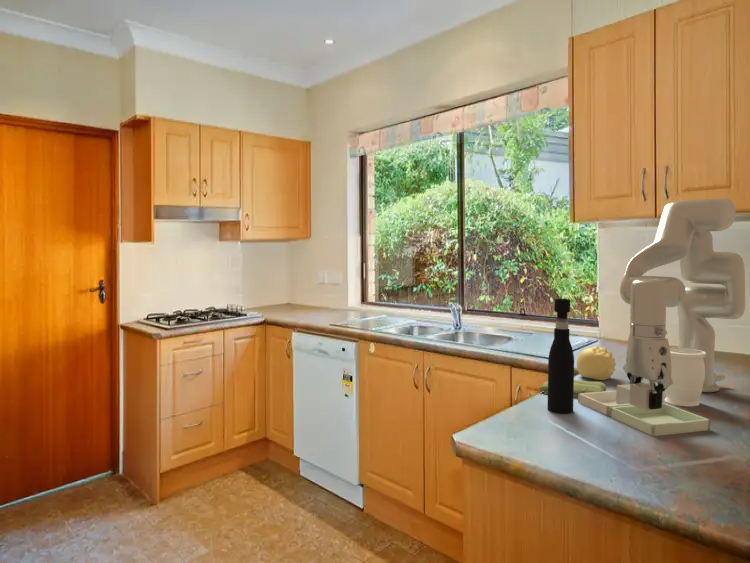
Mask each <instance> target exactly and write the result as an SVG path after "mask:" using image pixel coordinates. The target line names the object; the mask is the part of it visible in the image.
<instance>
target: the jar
mask: <svg viewBox="0 0 750 563" xmlns="http://www.w3.org/2000/svg"><path fill="white" fill-rule="evenodd" d="M670 353H671V379H672V381H673V384H672V385H671V386H669V387H668V388H667V389H666V390H665V392H664V394H665V395H666V397H665V398H664V402H666V403H668V404H669V405H675V406H679V407H680V406H682V407H697V406H700V402H699V399H700V396H701V394H702V393H703V392H702V389H703V384H704V380H705V365H704V360H703V358H704V357H705V356H706V353H705V352H704V351H700V350H695V349H688V348H678V347H670Z"/></svg>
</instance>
